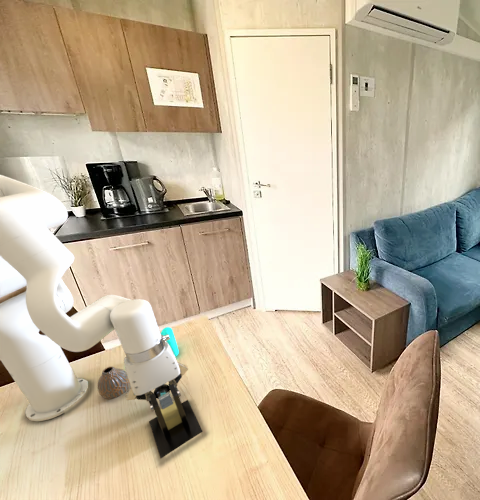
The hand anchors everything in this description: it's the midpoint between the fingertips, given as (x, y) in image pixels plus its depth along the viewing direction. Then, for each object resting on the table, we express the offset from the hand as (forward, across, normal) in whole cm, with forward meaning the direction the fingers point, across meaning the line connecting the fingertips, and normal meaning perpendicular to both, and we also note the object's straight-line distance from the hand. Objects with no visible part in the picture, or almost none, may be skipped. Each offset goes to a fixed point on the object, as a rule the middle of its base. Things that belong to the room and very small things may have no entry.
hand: (165, 400), depth 75 cm
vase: (+2, +9, -15) cm, 17 cm away
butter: (+1, 0, +6) cm, 6 cm away
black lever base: (+2, 0, +8) cm, 9 cm away
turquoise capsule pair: (+2, -3, -21) cm, 21 cm away
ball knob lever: (-4, 0, +5) cm, 6 cm away
